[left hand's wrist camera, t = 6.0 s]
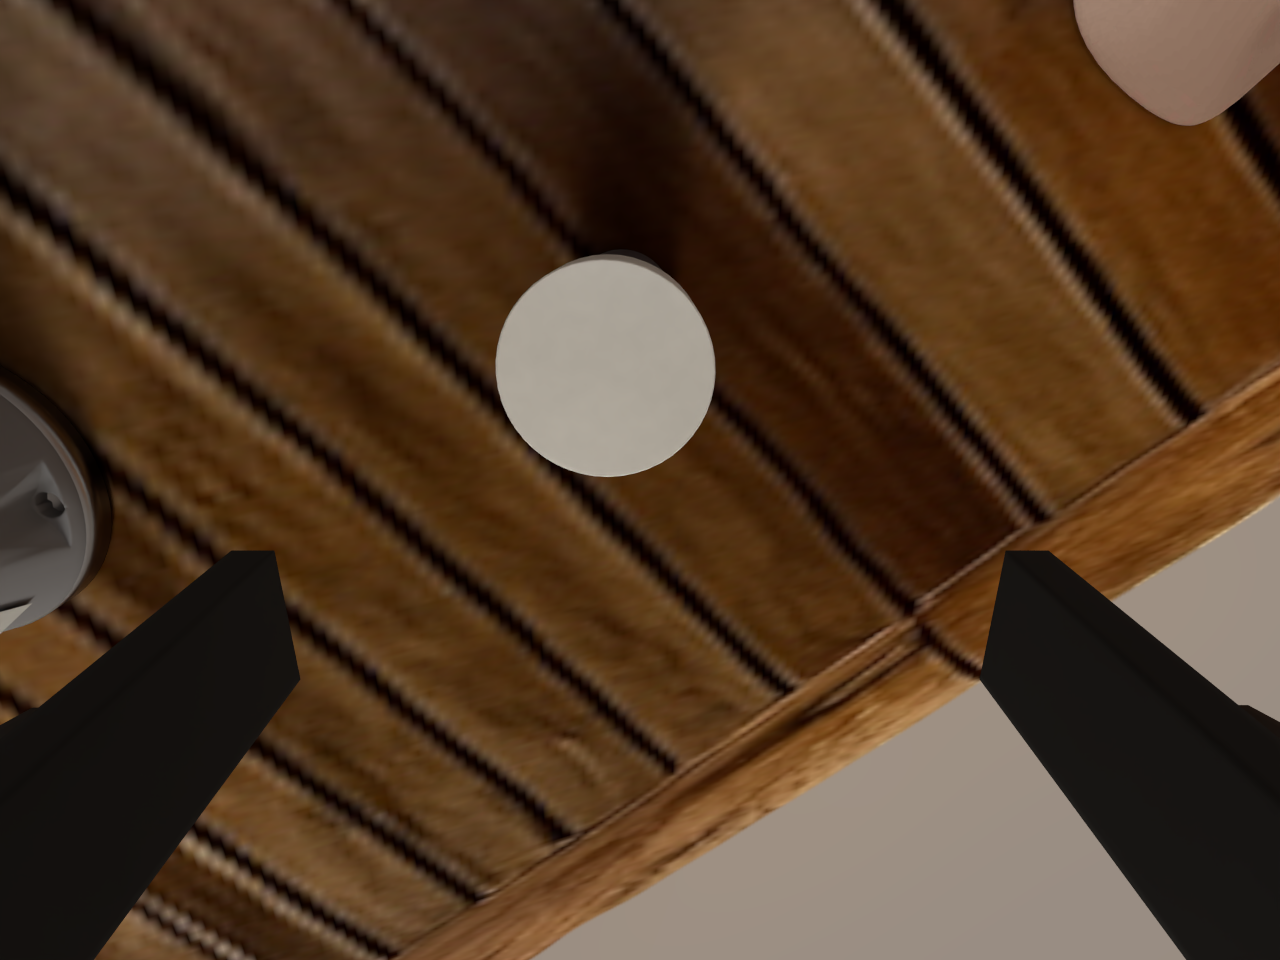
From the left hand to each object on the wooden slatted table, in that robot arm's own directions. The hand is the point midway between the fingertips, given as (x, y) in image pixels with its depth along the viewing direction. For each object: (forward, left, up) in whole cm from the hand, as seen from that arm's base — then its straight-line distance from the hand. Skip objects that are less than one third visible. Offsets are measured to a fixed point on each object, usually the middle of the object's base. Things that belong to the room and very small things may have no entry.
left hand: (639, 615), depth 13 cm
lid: (-3, +2, -7) cm, 8 cm away
